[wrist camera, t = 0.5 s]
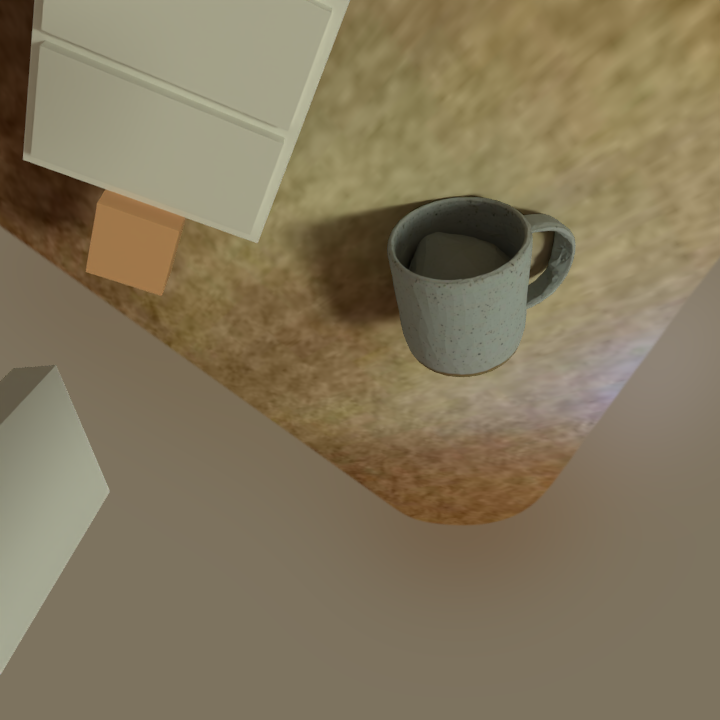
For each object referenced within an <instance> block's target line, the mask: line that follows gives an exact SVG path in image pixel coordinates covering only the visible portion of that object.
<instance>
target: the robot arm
mask: <svg viewBox="0 0 720 720" xmlns="http://www.w3.org/2000/svg"><path fill="white" fill-rule="evenodd" d="M109 492H110V491H109V488H108V486H107V484H106V481H105V479H104V477H103V474H102V472H101V469H100V467H99V465H98V462H97V460H96V458H95V456H94V453H93V451H92V448H91V446H90V444H89V441H88V439H87V437H86V434H85V432H84V430H83V427H82V425H81V423H80V420H79V418H78V416H77V413H76V411H75V408H74V406H73V404H72V402H71V399H70V397H69V394H68V392H67V390H66V387H65V385H64V383H63V380H62V378H61V376H60V373H59V371H58V369H57V366H56V365H52V366H38V367H25V368H14V369H12V370H11V371H10V372H9V373H8V374H7V375H6V376H5V377H4V378H3V379H2V380H1V381H0V674H1V673H2V671H3V669H4V668H5V666H6V664H7V663H8V661H9V659H10V657H11V656H12V654H13V653H14V651H15V649H16V647H17V646H18V644H19V643H20V641H21V639H22V638H23V636H24V634H25V633H26V631H27V629H28V628H29V626H30V624H31V622H32V621H33V619H34V617H35V616H36V614H37V612H38V611H39V609H40V607H41V606H42V604H43V602H44V601H45V599H46V597H47V596H48V594H49V592H50V591H51V589H52V587H53V586H54V584H55V582H56V581H57V579H58V577H59V576H60V574H61V572H62V570H63V569H64V567H65V566H66V564H67V562H68V561H69V559H70V557H71V555H72V554H73V552H74V550H75V549H76V547H77V545H78V544H79V542H80V540H81V539H82V537H83V535H84V534H85V532H86V530H87V529H88V527H89V525H90V524H91V522H92V520H93V519H94V517H95V515H96V513H97V512H98V510H99V509H100V507H101V505H102V504H103V502H104V500H105V499H106V497H107V495H108V493H109Z"/></svg>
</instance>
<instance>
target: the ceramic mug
mask: <svg viewBox="0 0 720 720" xmlns="http://www.w3.org/2000/svg"><path fill="white" fill-rule="evenodd" d="M543 231H555V234H554V235H555V237H554V243H553V248H552V254H551V258H550V260H549V262H548V267H547V268H546V270H545V271H544V272H543V273H542V274H541V275H540V276H539V277H538V279H537V280H535V281H534V282H533V283H531V284H530V285H528V283H529V274H530V264H531V255H532V233H533V232H543ZM387 251H388V258H389V263H390V268H391V273H392V278H393V284H394V289H395V294H396V299H397V304H398V308H399V313H400V320H401V326H402V330H403V334H404V337H405V339H406V342H407V344H408V346H409V349H410V351H411V352H412V354H413V355H414V356H415V358H416V359H417V360H418V361H419V362H420V363H421V364H423V365H424V366H425V367H427V368H428V369H430V370H432V371H434V372H436V373H439V374H443V375H446V376H453V377H470V376H477V375H481V374H484V373H487V372H490V371H493V370H494V369H496V368H498V367H500V366H501V365H503V364H504V363H505V362H506V361H508V360H509V359H510V358H511V356H512V355H513V354H514V353H515V351H516V350H517V348H518V345H519V343H520V341H521V338H522V335H523V331H524V328H525V321H526V309H528V308H530V307H533V306H534V305H536V304H538V303H540V302H542V301H543V300H544V299H546V298H547V297H548V296H550V295H551V294H553V293H554V291H555V290H556V289H557V288H558V287H559V286H560V284H561V283H562V282H563V280H564V279H565V277H566V276H567V274H568V272H569V270H570V267H571V265H572V262H573V259H574V254H575V239H574V236H573V234H572V232H571V231H570V230H569V229H568V228H567V227H566V226H564V225H563V224H562V223H560V222H559V221H558V220H557V219H555V218H553V217H551V216H549V215H546V214H530V215H522V214H521V213H520V212H519V211H518V210H517V209H514V208H513V207H511V206H510V205H508V204H505V203H502V202H500V201H497V200H492V199H488V198H481V197H457V198H449V199H442V200H440V201H435V202H432V203H429V204H426V205H423V206H420V207H419V208H417V209H415V210H414V211H412V212H410V213H408V214H407V215H406V216H404V217H403V218H402V219H401V220H400V221H399V222H398V223H397V224H396V226H395V227H394V229H393V230H392V232H391V234H390V237H389V239H388V245H387Z"/></svg>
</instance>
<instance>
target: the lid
mask: <svg viewBox="0 0 720 720" xmlns="http://www.w3.org/2000/svg"><path fill="white" fill-rule="evenodd" d="M349 1H350V0H34V13H33V27H32V41H31V54H30V68H29V82H28V96H27V109H26V123H25V137H24V150H23V160H25V161H28V162H31V163H34V164H36V165H39V166H42V167H45V168H48V169H50V170H53V171H56V172H59V173H62V174H64V175H67V176H70V177H73V178H76V179H78V180H81V181H84V182H87V183H90V184H92V185H95V186H98V187H101V188H104V189H105V191H104V192H103V194H102V196H101V197H100V199H99V201H98V203H97V208H96V214H95V220H94V226H93V232H92V238H91V244H90V250H89V256H88V262H87V268H86V272H88V273H91V274H94V275H97V276H101V277H104V278H107V279H110V280H113V281H116V282H119V283H122V284H126V285H129V286H132V287H135V288H138V289H141V290H144V291H148V292H151V293H154V294H157V295H160V296H162V294H163V291H164V289H165V286H166V283H167V281H168V278H169V275H170V273H171V269H172V266H173V262H174V259H175V255H176V251H177V248H178V244H179V241H180V237H181V234H182V230H183V226H184V223H185V219H186V218H188V219H191V220H194V221H196V222H199V223H202V224H205V225H208V226H210V227H213V228H216V229H219V230H222V231H224V232H227V233H230V234H233V235H236V236H239V237H241V238H244V239H247V240H250V241H253V242H255V243H258V241H259V238H260V235H261V233H262V230H263V228H264V225H265V222H266V220H267V217H268V214H269V212H270V209H271V206H272V204H273V201H274V199H275V196H276V193H277V191H278V188H279V185H280V183H281V180H282V178H283V175H284V172H285V170H286V167H287V164H288V162H289V159H290V156H291V154H292V151H293V149H294V146H295V143H296V141H297V138H298V135H299V133H300V130H301V128H302V125H303V122H304V120H305V117H306V114H307V112H308V109H309V107H310V104H311V101H312V99H313V96H314V93H315V91H316V88H317V85H318V83H319V80H320V78H321V75H322V72H323V70H324V67H325V64H326V62H327V59H328V57H329V54H330V51H331V49H332V46H333V43H334V41H335V38H336V35H337V33H338V30H339V28H340V25H341V22H342V20H343V17H344V14H345V12H346V9H347V7H348V4H349Z"/></svg>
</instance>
